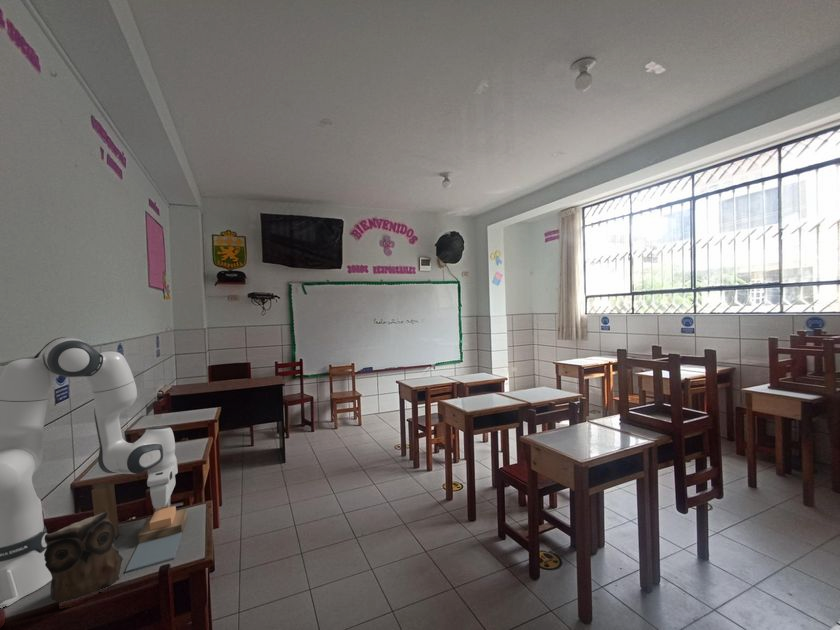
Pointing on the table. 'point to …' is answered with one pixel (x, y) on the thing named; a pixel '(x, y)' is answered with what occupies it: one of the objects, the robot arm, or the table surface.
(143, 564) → the mat
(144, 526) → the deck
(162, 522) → the tile
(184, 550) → the table surface
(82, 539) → the owl
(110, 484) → the wooden block
